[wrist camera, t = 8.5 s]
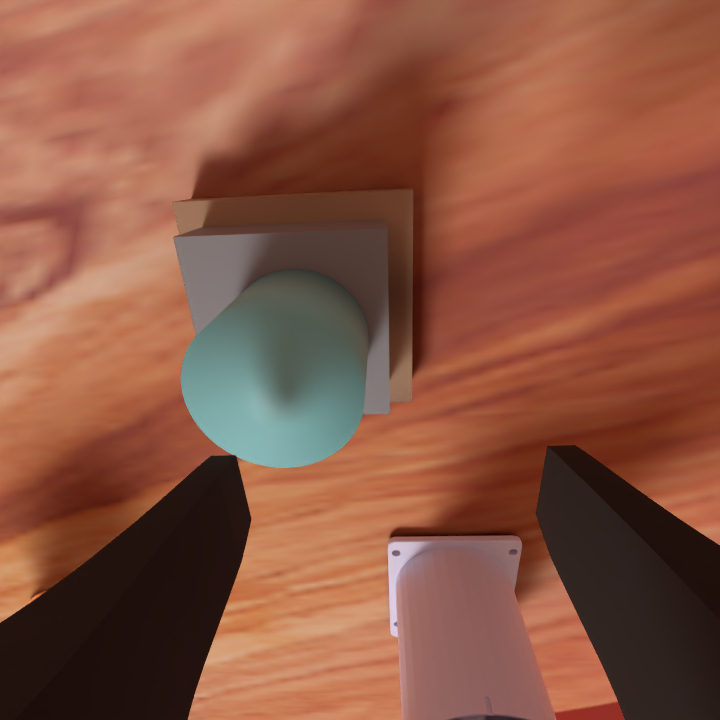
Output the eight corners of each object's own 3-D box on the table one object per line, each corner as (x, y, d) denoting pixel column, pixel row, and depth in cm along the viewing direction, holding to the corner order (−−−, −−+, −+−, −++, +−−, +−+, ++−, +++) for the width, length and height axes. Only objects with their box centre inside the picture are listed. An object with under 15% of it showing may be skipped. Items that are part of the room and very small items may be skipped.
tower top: (387, 383, 18) (389, 413, 16) (234, 386, 18) (215, 417, 16) (385, 219, 15) (387, 228, 13) (202, 226, 15) (173, 237, 13)
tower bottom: (407, 376, 21) (411, 401, 18) (236, 381, 21) (219, 406, 19) (407, 186, 17) (413, 189, 15) (198, 197, 17) (171, 202, 15)
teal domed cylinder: (367, 399, 16) (362, 471, 12) (239, 395, 16) (197, 463, 12) (371, 271, 13) (367, 311, 10) (221, 266, 13) (164, 304, 10)
